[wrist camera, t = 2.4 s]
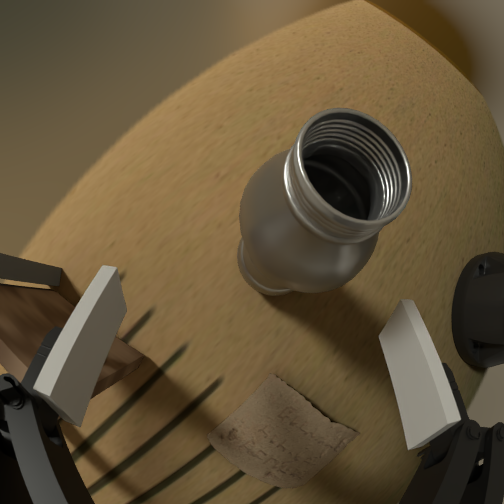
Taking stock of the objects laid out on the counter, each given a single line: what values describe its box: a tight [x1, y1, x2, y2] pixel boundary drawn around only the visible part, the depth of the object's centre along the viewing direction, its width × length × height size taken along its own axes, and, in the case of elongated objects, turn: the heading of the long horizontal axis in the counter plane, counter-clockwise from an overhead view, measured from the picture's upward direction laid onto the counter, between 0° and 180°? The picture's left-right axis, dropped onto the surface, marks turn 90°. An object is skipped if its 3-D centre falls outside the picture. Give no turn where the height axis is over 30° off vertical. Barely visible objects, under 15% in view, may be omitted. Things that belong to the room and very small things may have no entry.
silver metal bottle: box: [237, 108, 412, 296], centre depth 17 cm, size 6×7×20 cm
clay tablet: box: [207, 373, 360, 488], centre depth 23 cm, size 14×10×3 cm
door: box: [0, 283, 144, 419], centre depth 17 cm, size 13×3×14 cm, turn 63°
